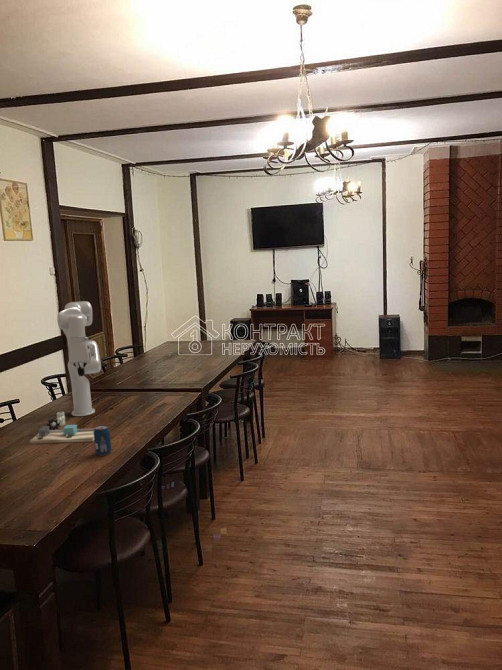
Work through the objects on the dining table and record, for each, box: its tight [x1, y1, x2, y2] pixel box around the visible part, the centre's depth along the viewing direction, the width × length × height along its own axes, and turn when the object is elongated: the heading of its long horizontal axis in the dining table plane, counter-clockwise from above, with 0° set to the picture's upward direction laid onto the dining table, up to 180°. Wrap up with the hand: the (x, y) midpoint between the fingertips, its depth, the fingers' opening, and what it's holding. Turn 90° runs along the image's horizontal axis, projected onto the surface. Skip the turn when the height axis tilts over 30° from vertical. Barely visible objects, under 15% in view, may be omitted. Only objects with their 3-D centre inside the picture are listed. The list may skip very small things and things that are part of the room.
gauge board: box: [29, 425, 95, 445], centre depth 260 cm, size 12×30×5 cm, turn 89°
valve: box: [46, 411, 66, 430], centre depth 278 cm, size 7×7×12 cm
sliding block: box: [62, 424, 78, 437], centre depth 259 cm, size 8×5×4 cm, turn 179°
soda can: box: [93, 424, 112, 456], centre depth 237 cm, size 7×7×12 cm
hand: (81, 375), depth 271 cm, fingers closed
